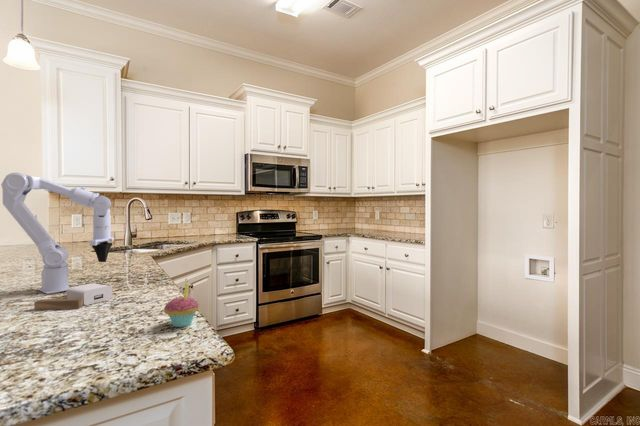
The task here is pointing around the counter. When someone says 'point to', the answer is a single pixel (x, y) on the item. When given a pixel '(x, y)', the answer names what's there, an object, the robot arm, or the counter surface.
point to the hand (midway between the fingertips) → (102, 261)
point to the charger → (90, 293)
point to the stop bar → (58, 304)
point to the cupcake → (181, 310)
